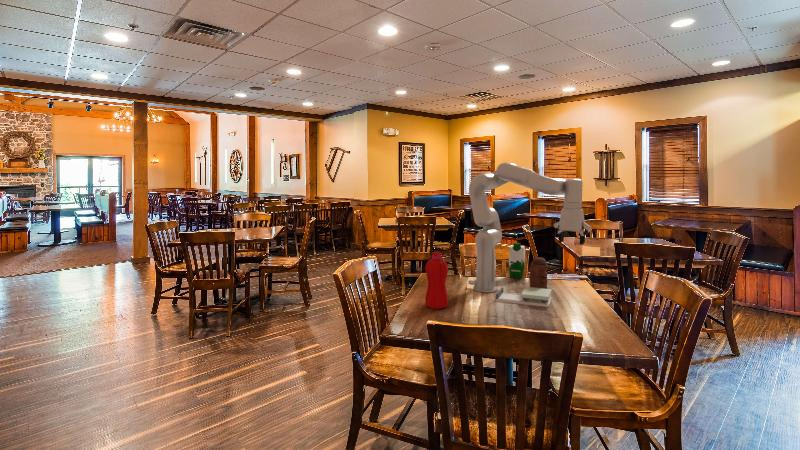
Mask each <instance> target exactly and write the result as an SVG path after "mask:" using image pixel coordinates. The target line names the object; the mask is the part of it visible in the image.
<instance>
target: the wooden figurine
mask: <svg viewBox="0 0 800 450" xmlns="http://www.w3.org/2000/svg"><path fill="white" fill-rule="evenodd" d="M529 267H530V268H529V287H533V288H543V289H548V272H547V270H548V269H547V268H548V263H547V261H546V259H545V258H544V257H540V256H539V257H534V258H533V259H532V261H531V263H530V266H529Z"/></svg>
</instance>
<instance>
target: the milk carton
mask: <svg viewBox="0 0 800 450" xmlns="http://www.w3.org/2000/svg"><path fill="white" fill-rule="evenodd" d="M508 251H509V254H508V273H509V278H510V279H523V277H524V273H525V272H524V271H525V266H526V265H525V264H526V249H525V245H521V242H513V244H511V245H510V246H509V250H508Z"/></svg>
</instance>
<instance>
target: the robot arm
mask: <svg viewBox="0 0 800 450" xmlns="http://www.w3.org/2000/svg"><path fill="white" fill-rule="evenodd" d="M507 183H513V184H516V185H519V186H522V187H525V188H527V189H530V190H533V191H536V192H539V193H542V194H545V195H549V196H557V195H563V194H564V198H563V202H561V207H563V208H561V211H560V216H559V221H557V222H555V223H553V227H554V228H555V231H556V232H557V234H558V243H563V242H564V241H565V240H564V239H565V237H564V236H565V234H564V232H565V231H566V232H575V233H577V232H578V233H579V234H580V236H579V245H580V246H582V245H585V243H586V236H587V234H589V233H590V231H591V229H592V226H591V225H589V224H588V223H586V222H585V214H584V209H582V204H583V179H581V178H566V179H565V178H558V177H557V178H556V177H555V178H552V177H550V176H545V175H542V174H539V173H536V172H535V171H534V170H533V169H531V168H526V167H523V166H519V165H517V164H516V163H513V162H502V163H500V164H498V166H497V167H496V170H494V171H492V172H491V173H489V172H483V173H479V174H477V175H475V176H474V177H473V178H472V179H471V180H470V183H469V184H468V185H469V186H468V193H469V198H470V199H469V200H470V205H471V210H472V215H473V220H474V223H475V225H477V227H482V228H483V229H481V230H480V231H478V232H477V233H476V235H475V242H474V243H475V249H476V272H475V273H476V276H475V277H476V279H475V280H472V279H468V285H471V286H472V285H473V287H472V288H473V290H474V291H476V292H478V293H479V292H480V293H494V292H498V291H499V287H498V286H496V250H495V249H496V248H495V246H497V245H498V244H499V243H501V241H502V238H503V233H502V226H501V222H500V217H499V214H498V213H499V212H497V210H496V209H495V208H493V207H490V204H489V199H488V197H487V194H486V191H490V190H494V189H497V188H499V187H502V186H503V185H505V184H507ZM585 228H586V229H585Z"/></svg>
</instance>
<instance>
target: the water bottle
mask: <svg viewBox="0 0 800 450" xmlns="http://www.w3.org/2000/svg"><path fill="white" fill-rule="evenodd" d="M442 254H443V253H442V252H440V251H434V252H431V258H430V259H429V260H427V262H426V264H425V267H424V268H425V269H424V270H425V275H426V279H427V288H426V292H425V299H424V301H425V302H424V303H425V306H426V307H428V308H431V310H439V309H446V308H447V307H448V306H449V295H448V292H447V287H446V285H447V284H446V283H447V276H448V273H449V267H448V263H447V261H445V260H444V259H443V258H442Z"/></svg>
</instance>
